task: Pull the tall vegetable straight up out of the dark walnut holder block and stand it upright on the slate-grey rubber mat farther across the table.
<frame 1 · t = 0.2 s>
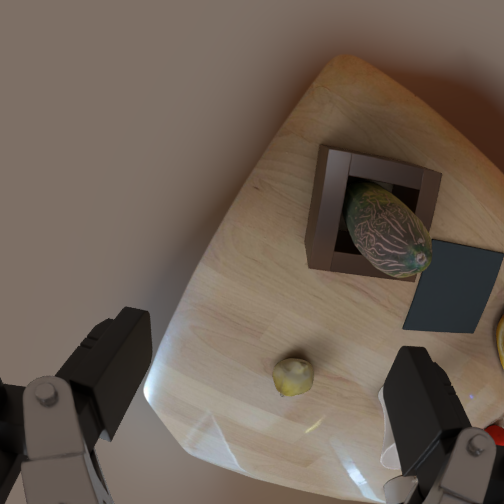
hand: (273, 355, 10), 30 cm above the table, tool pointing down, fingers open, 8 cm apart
mug: (402, 479, 60), on the table
holder: (360, 202, 37), on the table
cup: (395, 389, 48), on the table
vegetable: (360, 201, 37), resting in holder
fruit: (291, 370, 48), on the table
mat: (456, 290, 40), on the table
apple: (487, 430, 52), on the table
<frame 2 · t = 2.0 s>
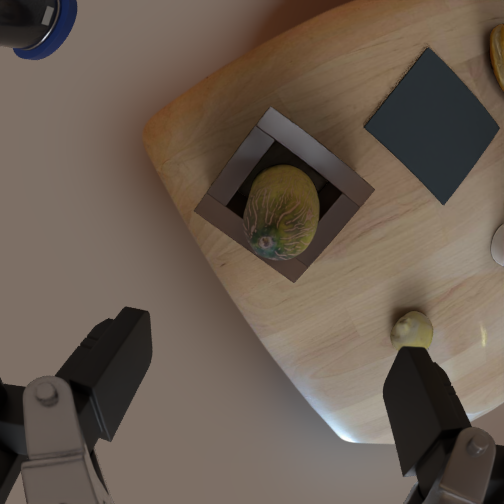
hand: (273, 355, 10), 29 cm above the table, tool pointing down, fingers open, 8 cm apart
holder: (283, 184, 36), on the table
vegetable: (283, 183, 37), resting in holder
fruit: (411, 326, 42), on the table
mat: (439, 125, 32), on the table
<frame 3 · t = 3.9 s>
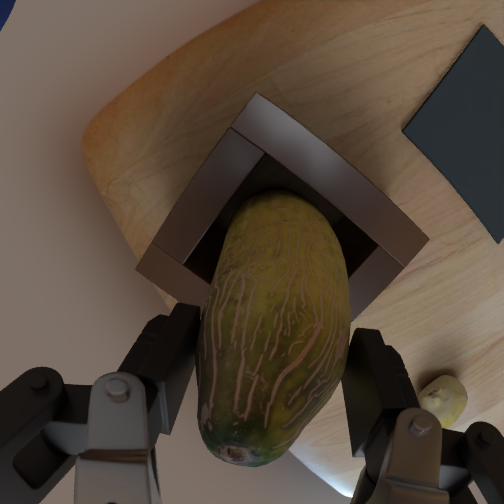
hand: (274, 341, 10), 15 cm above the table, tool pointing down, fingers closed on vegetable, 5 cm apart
holder: (281, 215, 25), on the table
vegetable: (281, 215, 25), resting in holder, touching gripper
fruit: (438, 389, 30), on the table
mat: (499, 133, 20), on the table
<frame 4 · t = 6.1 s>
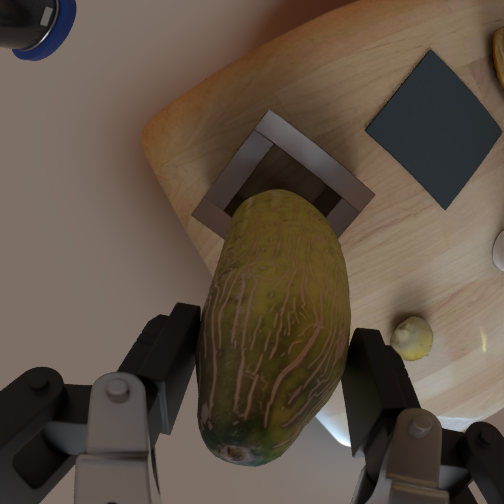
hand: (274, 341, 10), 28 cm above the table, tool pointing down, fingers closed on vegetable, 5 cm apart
holder: (283, 188, 36), on the table
vegetable: (281, 215, 25), point 12 cm above the table, touching gripper
fruit: (411, 332, 41), on the table
mat: (441, 129, 31), on the table
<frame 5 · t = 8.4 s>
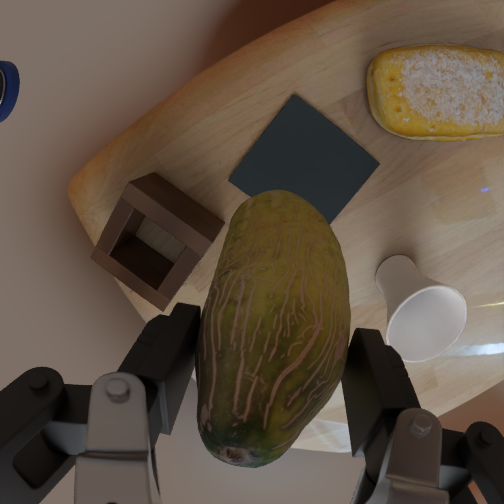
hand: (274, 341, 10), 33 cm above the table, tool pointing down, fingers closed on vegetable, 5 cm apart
bread: (448, 92, 34), on the table
holder: (167, 230, 45), on the table
cup: (395, 274, 44), on the table
vegetable: (281, 215, 25), point 17 cm above the table, touching gripper
mat: (304, 170, 40), on the table
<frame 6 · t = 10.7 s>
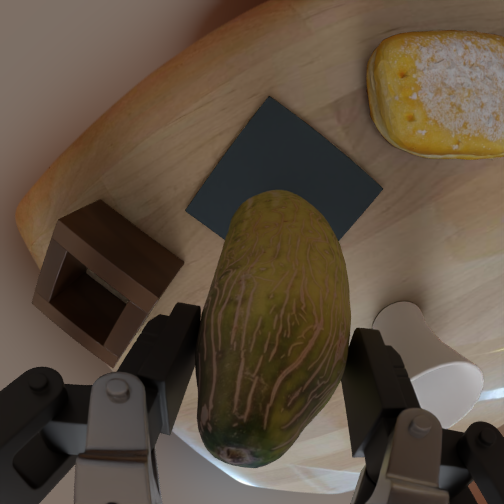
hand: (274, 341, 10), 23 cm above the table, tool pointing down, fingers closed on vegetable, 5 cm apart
bread: (472, 94, 25), on the table
holder: (119, 268, 36), on the table
cup: (397, 323, 35), on the table
vegetable: (281, 215, 25), point 7 cm above the table, touching gripper
mat: (283, 197, 31), on the table
when the fingers open (16 cm above the table, at t = 12.8 s): vegetable stays where it is, resting on mat.
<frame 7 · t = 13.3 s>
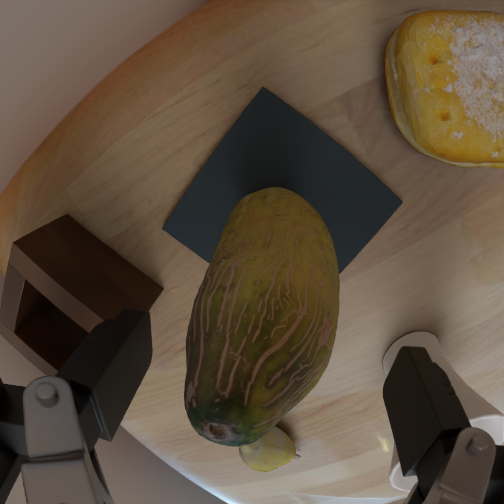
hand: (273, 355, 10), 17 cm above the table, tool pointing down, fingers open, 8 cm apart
bread: (503, 90, 19), on the table
holder: (91, 292, 30), on the table
cup: (411, 354, 30), on the table
vegetable: (279, 212, 25), resting on mat
fruit: (274, 434, 36), on the table
mat: (281, 212, 25), on the table
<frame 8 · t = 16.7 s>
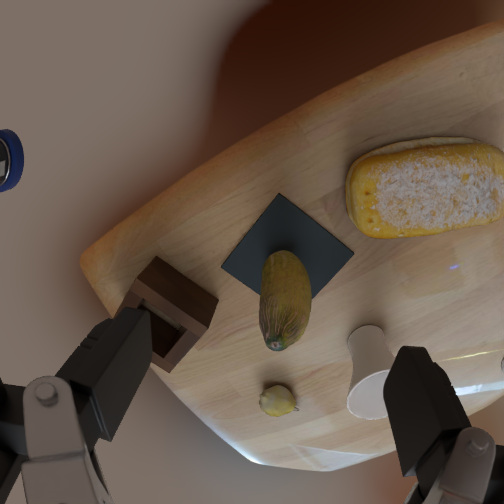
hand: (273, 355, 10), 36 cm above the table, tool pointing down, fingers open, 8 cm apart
bread: (427, 181, 41), on the table
holder: (169, 303, 52), on the table
cup: (365, 339, 51), on the table
vegetable: (286, 260, 47), resting on mat
fruit: (281, 393, 58), on the table
mat: (287, 259, 47), on the table
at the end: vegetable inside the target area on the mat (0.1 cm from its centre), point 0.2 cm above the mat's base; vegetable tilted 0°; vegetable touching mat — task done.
